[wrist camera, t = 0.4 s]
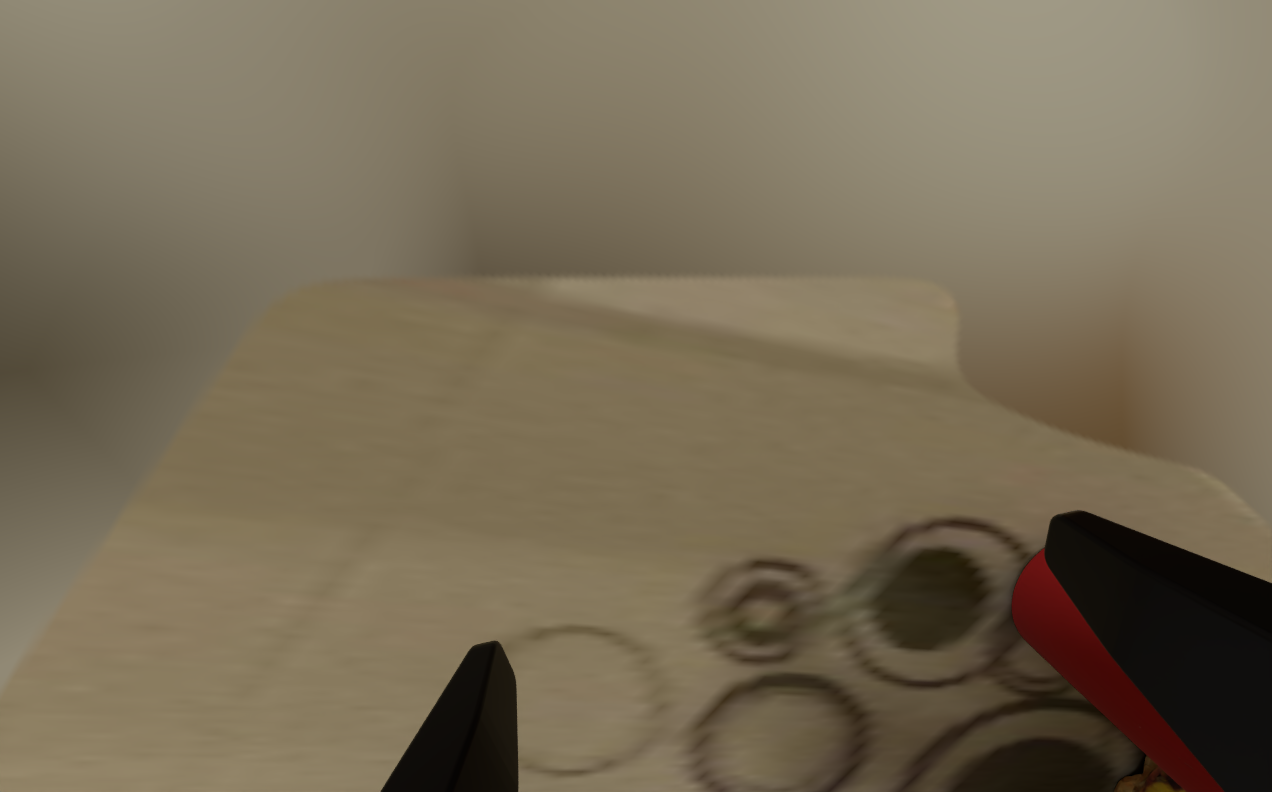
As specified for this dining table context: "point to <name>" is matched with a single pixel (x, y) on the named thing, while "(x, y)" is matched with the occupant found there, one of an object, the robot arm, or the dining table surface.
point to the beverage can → (1098, 673)
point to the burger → (1149, 781)
